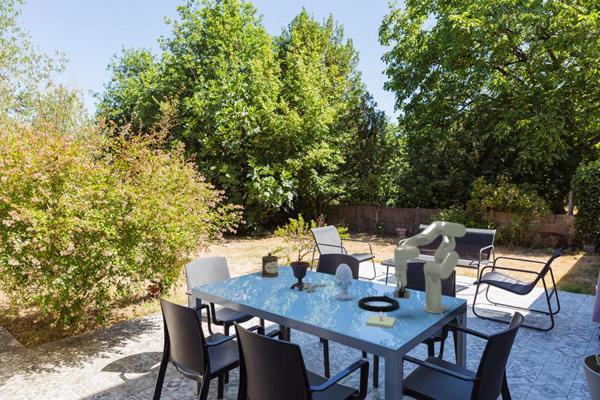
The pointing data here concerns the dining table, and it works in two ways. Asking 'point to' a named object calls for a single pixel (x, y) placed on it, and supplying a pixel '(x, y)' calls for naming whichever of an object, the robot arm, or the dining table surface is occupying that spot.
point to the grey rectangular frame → (406, 294)
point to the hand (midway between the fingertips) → (401, 295)
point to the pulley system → (308, 285)
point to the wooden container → (270, 266)
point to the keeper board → (381, 321)
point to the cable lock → (378, 308)
